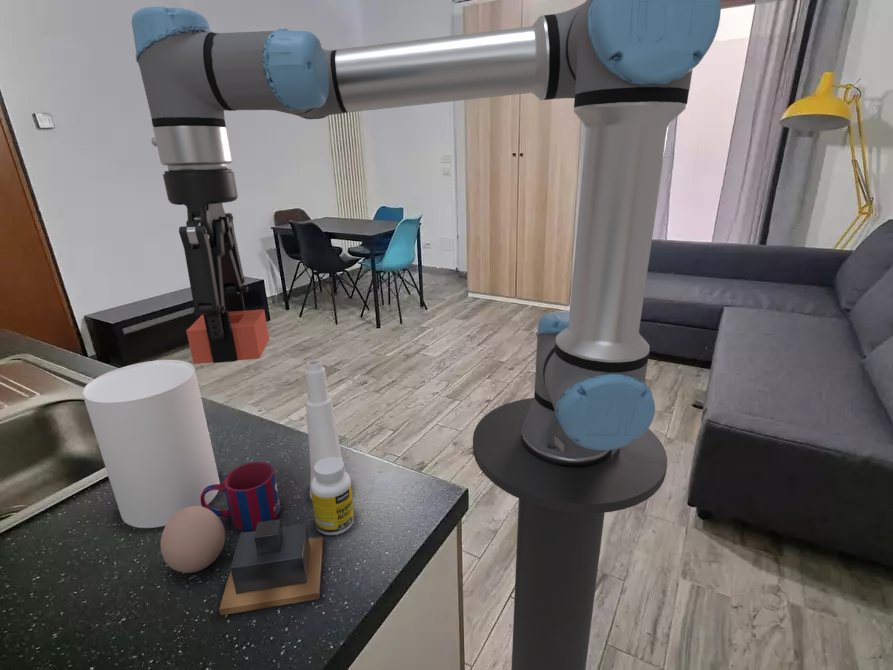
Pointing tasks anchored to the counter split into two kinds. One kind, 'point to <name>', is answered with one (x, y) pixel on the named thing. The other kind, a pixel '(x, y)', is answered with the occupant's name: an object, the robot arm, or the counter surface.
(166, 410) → the canister
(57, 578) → the counter surface
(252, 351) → the coral block
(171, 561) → the egg
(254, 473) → the cup
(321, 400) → the cosmetic bottle
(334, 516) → the supplement bottle
